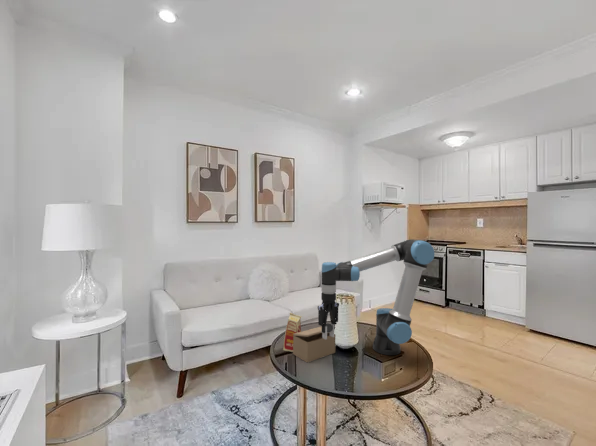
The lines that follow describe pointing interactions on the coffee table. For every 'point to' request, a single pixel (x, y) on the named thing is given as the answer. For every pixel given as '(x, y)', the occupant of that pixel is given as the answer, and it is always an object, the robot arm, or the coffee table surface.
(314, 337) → the carton
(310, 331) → the carton lid
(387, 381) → the coffee table surface
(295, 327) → the milk carton
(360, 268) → the robot arm
